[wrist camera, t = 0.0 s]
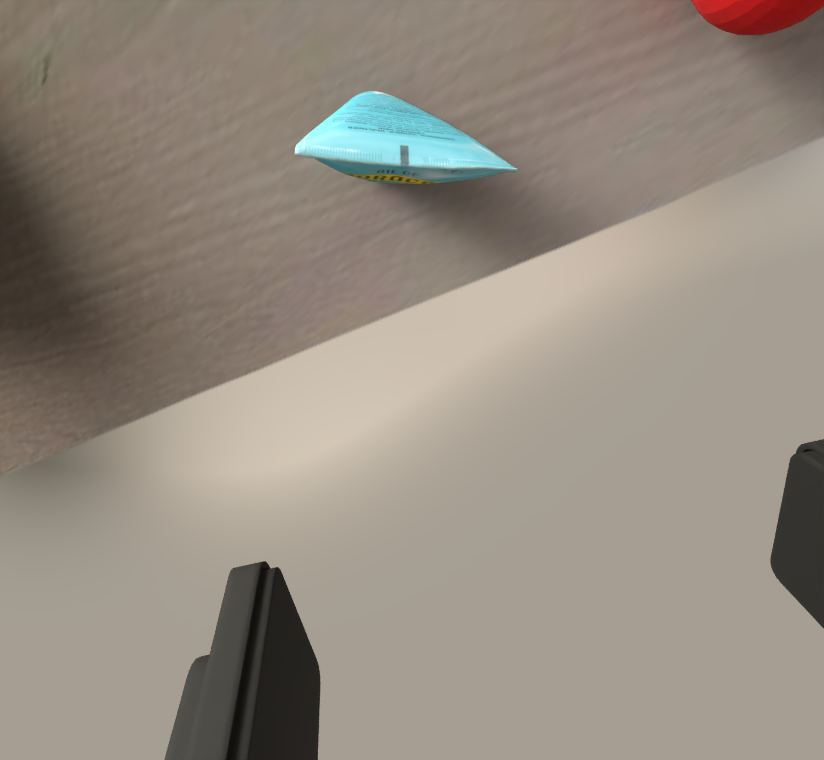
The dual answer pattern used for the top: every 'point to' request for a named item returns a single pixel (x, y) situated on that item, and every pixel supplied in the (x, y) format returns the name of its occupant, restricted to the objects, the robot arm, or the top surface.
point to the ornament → (756, 14)
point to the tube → (397, 144)
